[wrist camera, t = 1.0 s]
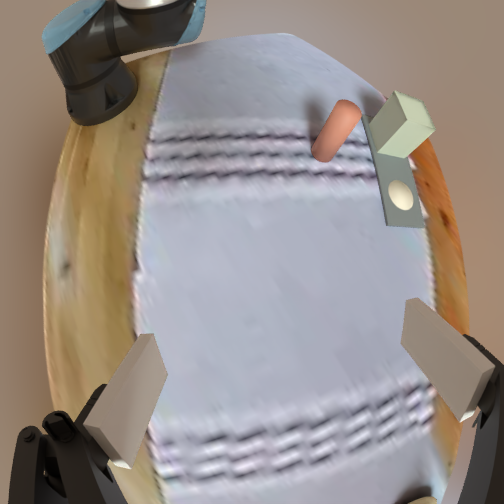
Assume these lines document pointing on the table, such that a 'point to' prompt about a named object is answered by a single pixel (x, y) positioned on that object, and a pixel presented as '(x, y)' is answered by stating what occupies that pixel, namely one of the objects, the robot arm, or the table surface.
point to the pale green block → (401, 125)
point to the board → (395, 186)
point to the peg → (336, 130)
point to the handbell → (425, 501)
